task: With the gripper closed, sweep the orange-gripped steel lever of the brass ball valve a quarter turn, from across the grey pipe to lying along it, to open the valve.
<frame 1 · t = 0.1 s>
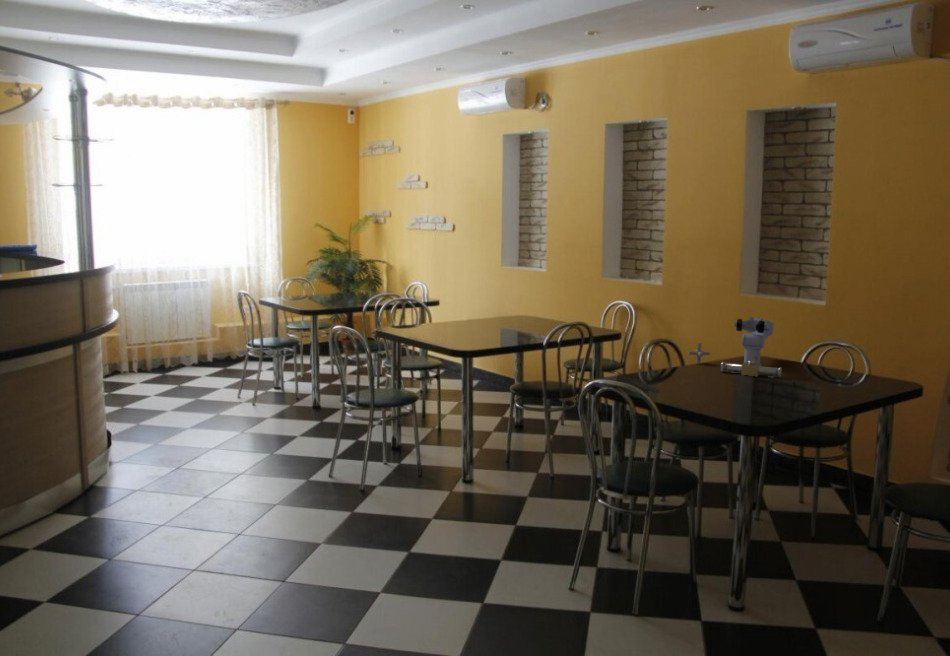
hand: (747, 326, 389), 22 cm above the table, tool horizontal, fingers open, 7 cm apart
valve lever: (753, 360, 392), point 6 cm above the table, hinge at 0.0°
valve pipe: (750, 374, 388), on the table
pipe connector: (698, 363, 414), on the table
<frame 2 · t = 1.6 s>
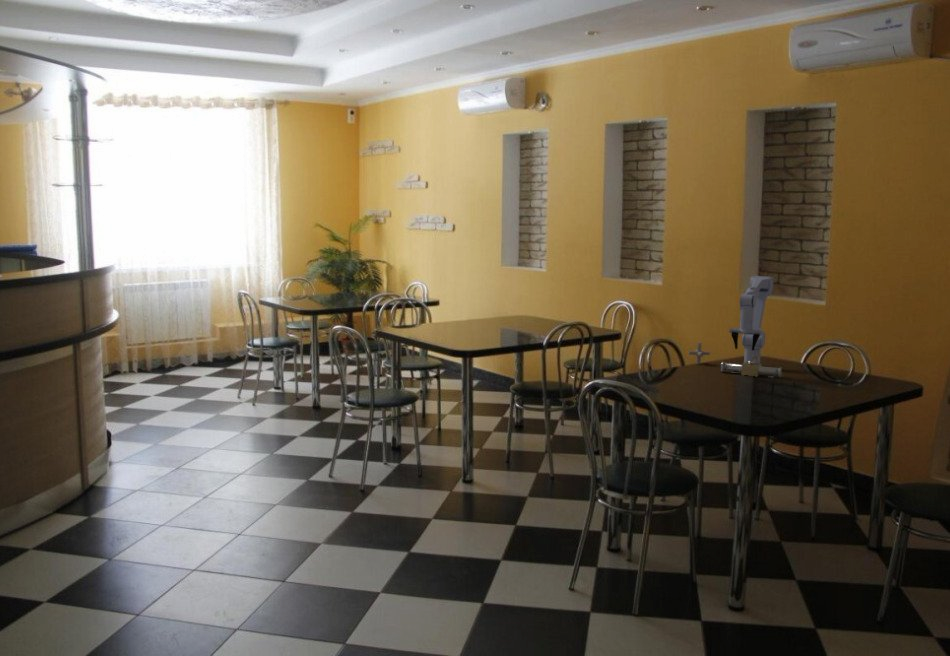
hand: (744, 349, 394), 10 cm above the table, tool pointing down, fingers open, 7 cm apart
nothing on the table moved.
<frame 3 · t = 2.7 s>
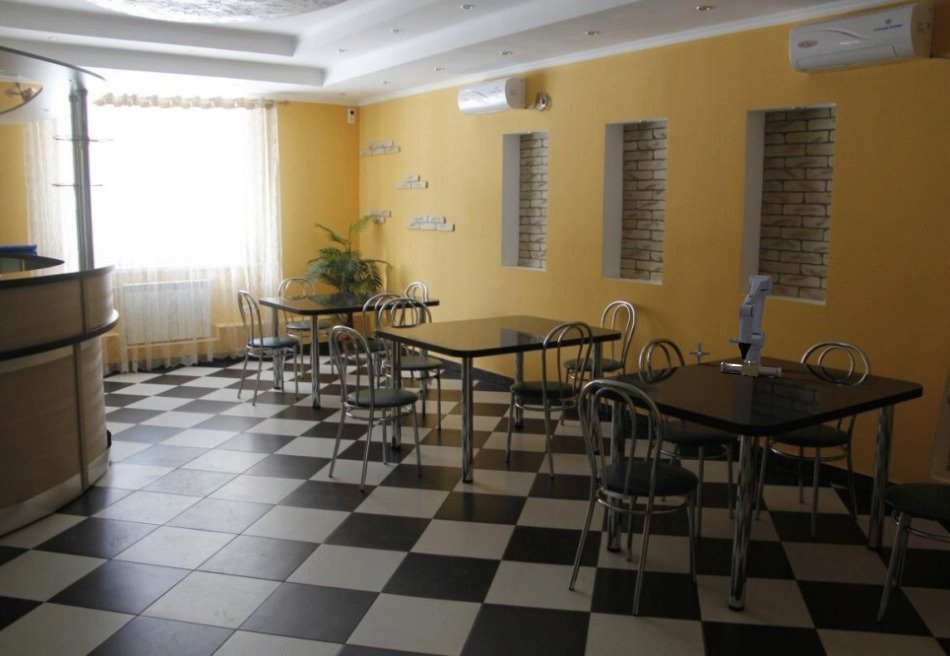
hand: (743, 359, 394), 6 cm above the table, tool pointing down, fingers closed
nothing on the table moved.
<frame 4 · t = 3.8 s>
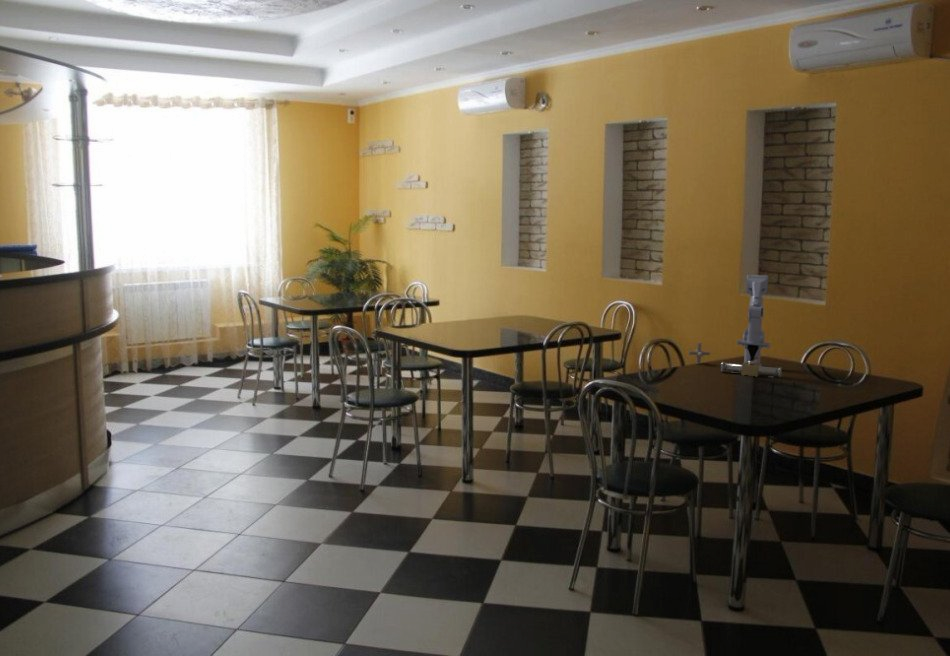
hand: (752, 361, 393), 5 cm above the table, tool pointing down, fingers closed, pressing on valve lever
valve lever: (754, 360, 392), point 6 cm above the table, hinge at 5.1°, touching gripper
everything else where it was.
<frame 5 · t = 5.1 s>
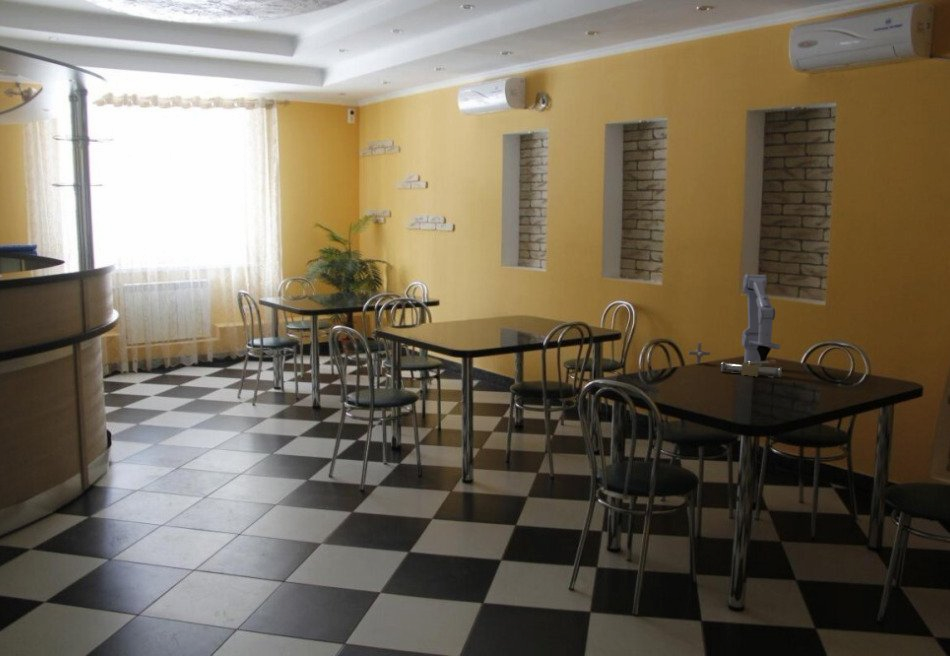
hand: (762, 362, 391), 5 cm above the table, tool pointing down, fingers closed
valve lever: (761, 362, 389), point 6 cm above the table, hinge at 47.9°, touching gripper
everything else where it was.
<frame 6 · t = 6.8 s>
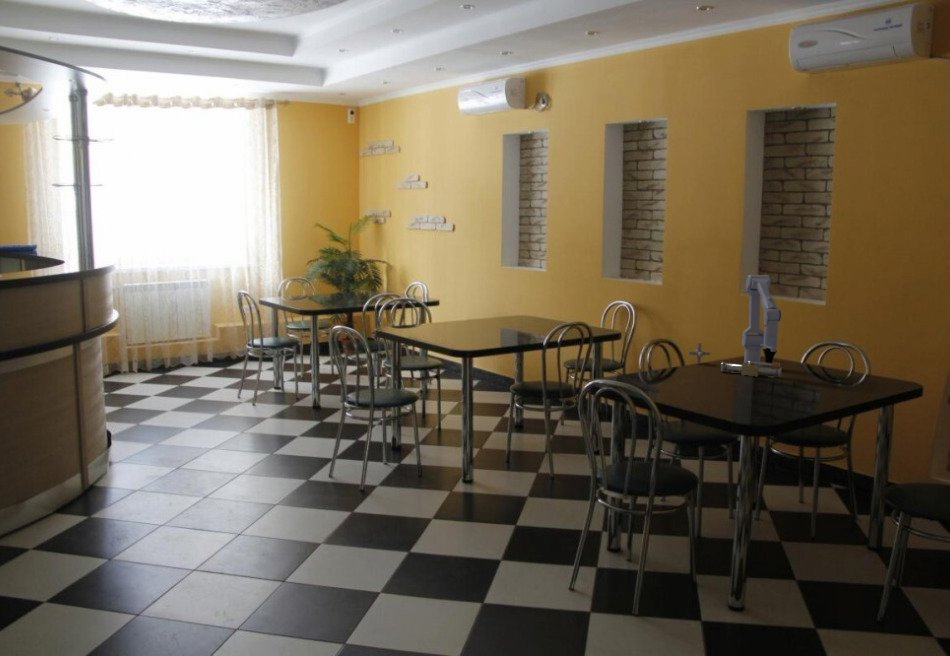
hand: (768, 364, 386), 5 cm above the table, tool pointing down, fingers closed
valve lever: (763, 363, 385), point 6 cm above the table, hinge at 87.9°, touching gripper
everything else where it was.
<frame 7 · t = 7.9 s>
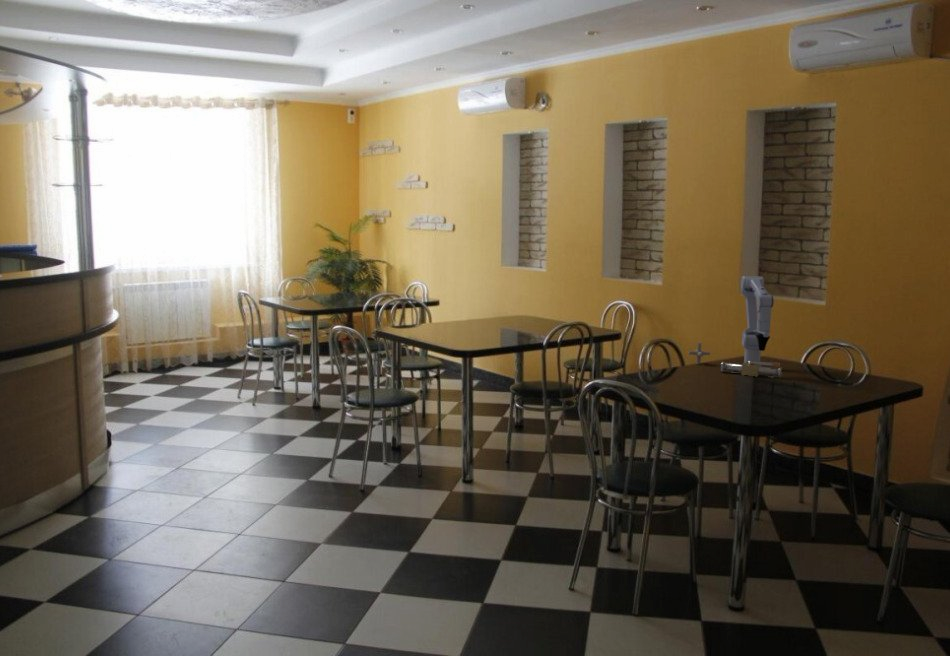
hand: (761, 350, 392), 10 cm above the table, tool pointing down, fingers closed
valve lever: (763, 363, 385), point 6 cm above the table, hinge at 87.9°
everything else where it was.
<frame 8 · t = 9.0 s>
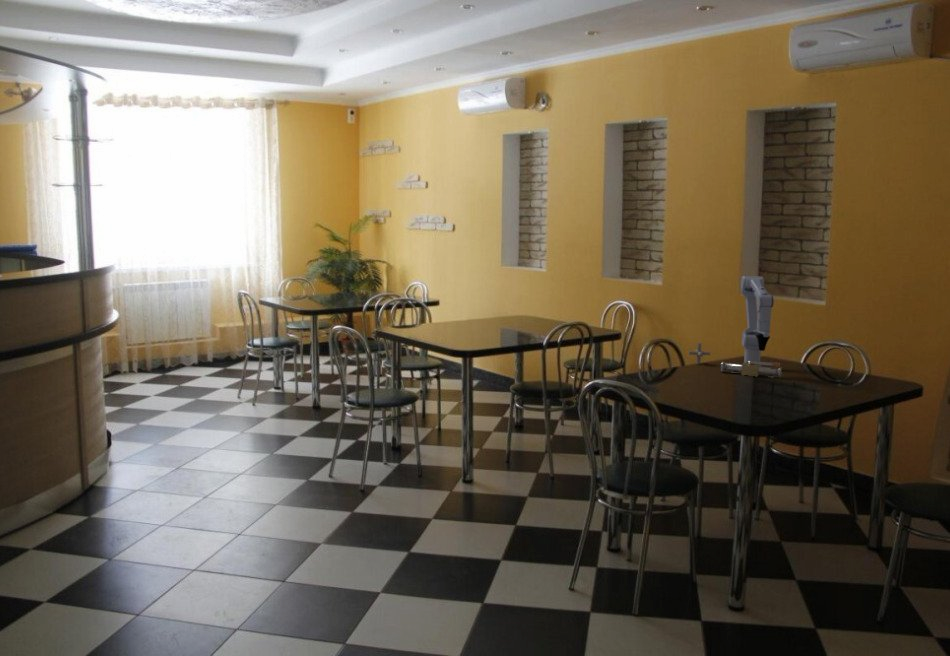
hand: (761, 350, 392), 10 cm above the table, tool pointing down, fingers closed
nothing on the table moved.
at the end: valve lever at +88° (first picture: +0°) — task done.
